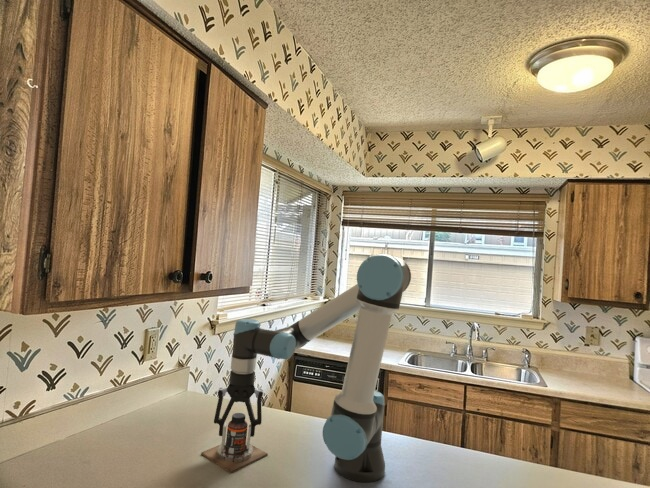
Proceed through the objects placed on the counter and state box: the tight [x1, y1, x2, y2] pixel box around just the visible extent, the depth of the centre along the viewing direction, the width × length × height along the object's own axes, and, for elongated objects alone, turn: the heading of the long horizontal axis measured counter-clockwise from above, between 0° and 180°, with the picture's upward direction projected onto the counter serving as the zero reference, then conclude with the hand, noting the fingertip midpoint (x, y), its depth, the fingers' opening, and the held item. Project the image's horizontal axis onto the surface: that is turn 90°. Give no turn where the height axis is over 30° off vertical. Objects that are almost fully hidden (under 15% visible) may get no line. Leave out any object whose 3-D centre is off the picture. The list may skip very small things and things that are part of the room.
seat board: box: [200, 444, 268, 474], centre depth 116 cm, size 14×14×1 cm
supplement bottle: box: [225, 412, 249, 456], centre depth 116 cm, size 6×6×11 cm
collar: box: [217, 441, 253, 462], centre depth 116 cm, size 11×11×1 cm
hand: (235, 446), depth 116 cm, fingers open, 7 cm apart
